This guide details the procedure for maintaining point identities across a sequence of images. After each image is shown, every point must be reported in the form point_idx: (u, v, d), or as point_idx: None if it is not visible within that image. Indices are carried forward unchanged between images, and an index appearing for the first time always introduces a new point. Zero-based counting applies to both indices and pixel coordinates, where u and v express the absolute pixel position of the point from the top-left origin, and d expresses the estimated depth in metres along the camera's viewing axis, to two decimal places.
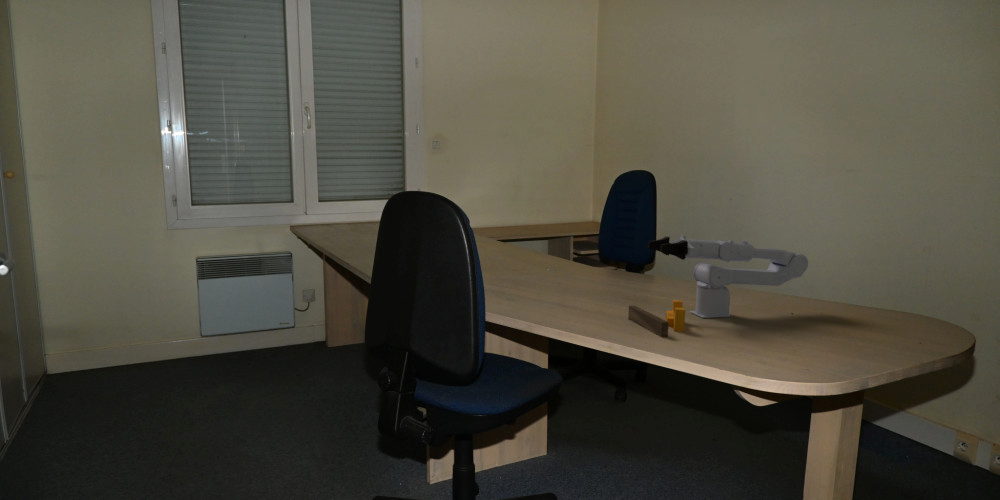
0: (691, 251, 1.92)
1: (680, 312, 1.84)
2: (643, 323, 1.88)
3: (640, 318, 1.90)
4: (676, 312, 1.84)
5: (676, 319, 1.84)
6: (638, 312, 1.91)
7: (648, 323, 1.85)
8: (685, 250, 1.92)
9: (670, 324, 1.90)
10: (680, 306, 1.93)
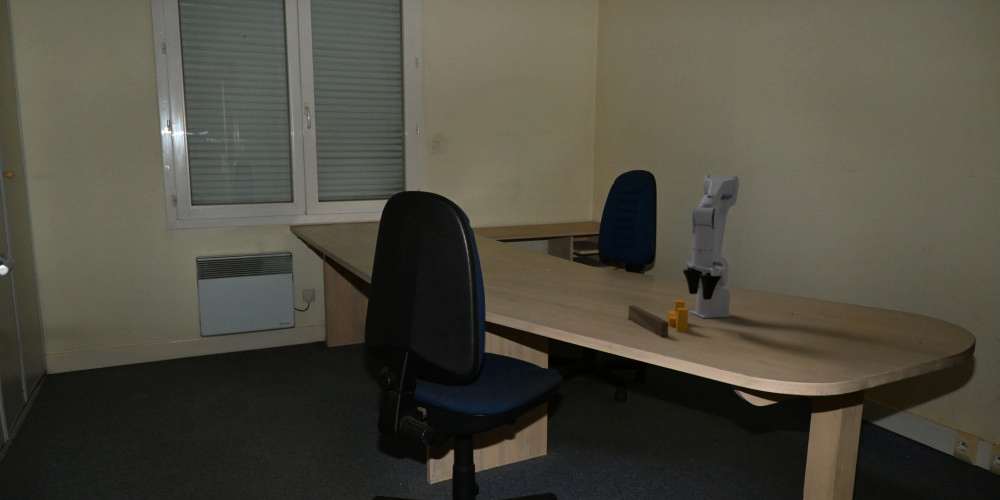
0: (716, 274, 1.83)
1: (683, 312, 1.84)
2: (643, 323, 1.88)
3: (640, 318, 1.90)
4: (679, 312, 1.84)
5: (679, 319, 1.84)
6: (638, 312, 1.91)
7: (648, 323, 1.85)
8: (713, 277, 1.84)
9: (672, 324, 1.90)
10: (682, 306, 1.93)
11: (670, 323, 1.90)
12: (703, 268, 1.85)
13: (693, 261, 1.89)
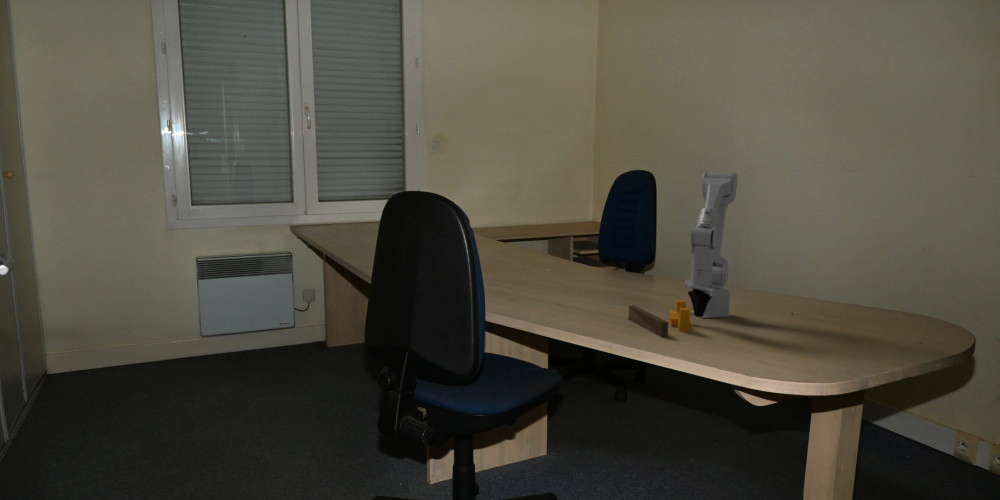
0: (715, 294, 1.84)
1: (685, 312, 1.83)
2: (643, 323, 1.88)
3: (640, 318, 1.90)
4: (681, 312, 1.84)
5: (681, 319, 1.84)
6: (638, 312, 1.91)
7: (648, 323, 1.85)
8: (705, 295, 1.88)
9: (674, 324, 1.90)
10: (683, 306, 1.93)
11: (672, 323, 1.90)
12: (702, 288, 1.86)
13: (692, 281, 1.89)
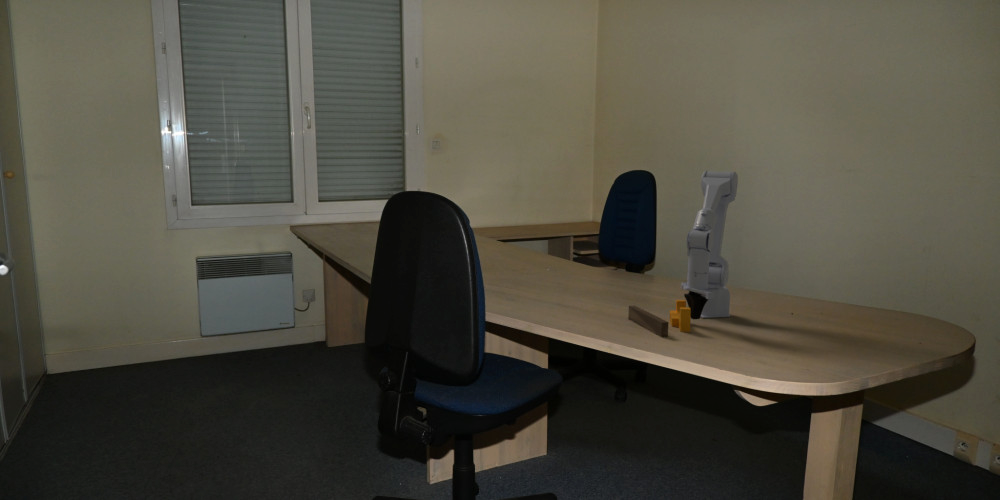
0: (711, 297, 1.83)
1: (686, 312, 1.83)
2: (643, 323, 1.88)
3: (640, 318, 1.90)
4: (681, 312, 1.84)
5: (682, 319, 1.84)
6: (638, 312, 1.91)
7: (648, 323, 1.85)
8: (701, 297, 1.88)
9: (675, 324, 1.90)
10: (683, 305, 1.93)
11: (673, 323, 1.90)
12: (698, 291, 1.86)
13: (688, 284, 1.89)
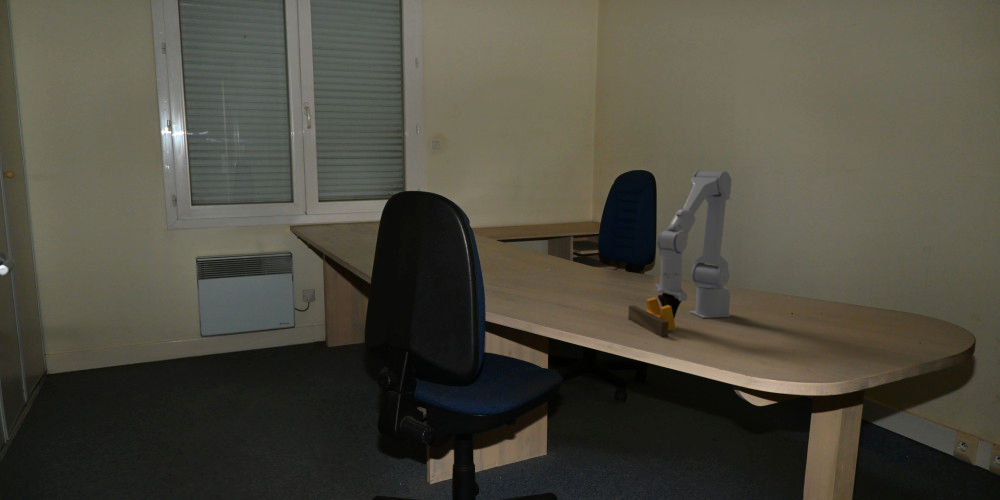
0: (684, 298, 1.82)
1: (668, 310, 1.82)
2: (643, 323, 1.88)
3: (640, 318, 1.90)
4: (664, 311, 1.82)
5: (665, 318, 1.82)
6: (638, 312, 1.91)
7: (648, 323, 1.85)
8: (674, 299, 1.86)
9: None
10: (656, 303, 1.92)
11: None
12: (671, 293, 1.84)
13: (661, 285, 1.87)
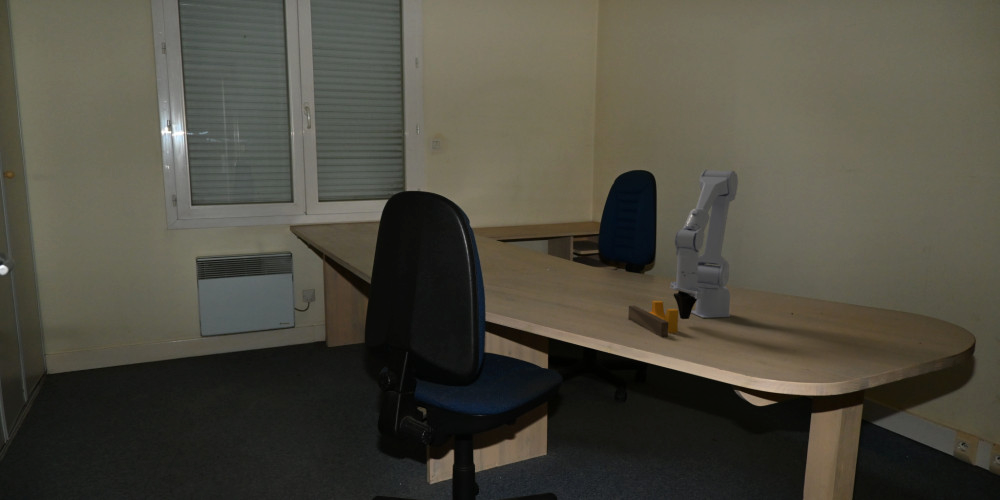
0: (700, 297, 1.83)
1: (674, 313, 1.83)
2: (643, 323, 1.88)
3: (640, 318, 1.90)
4: (670, 313, 1.82)
5: (670, 320, 1.83)
6: (638, 312, 1.91)
7: (648, 323, 1.85)
8: (690, 297, 1.87)
9: None
10: (661, 306, 1.92)
11: None
12: (687, 291, 1.85)
13: (677, 283, 1.89)
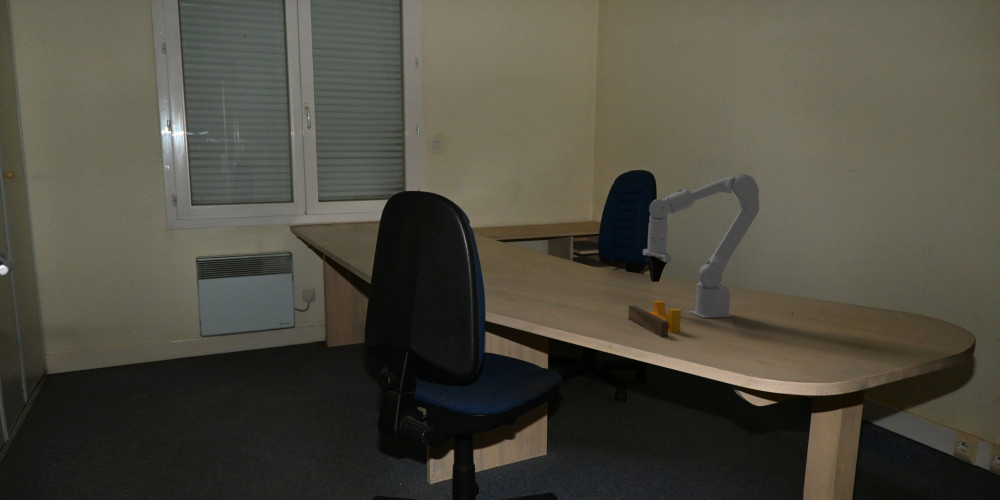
0: (668, 260, 1.99)
1: (676, 313, 1.83)
2: (643, 323, 1.88)
3: (640, 318, 1.90)
4: (672, 313, 1.82)
5: (672, 320, 1.83)
6: (638, 312, 1.91)
7: (648, 323, 1.85)
8: (660, 261, 2.04)
9: None
10: (663, 306, 1.92)
11: None
12: (657, 255, 2.02)
13: (648, 249, 2.05)
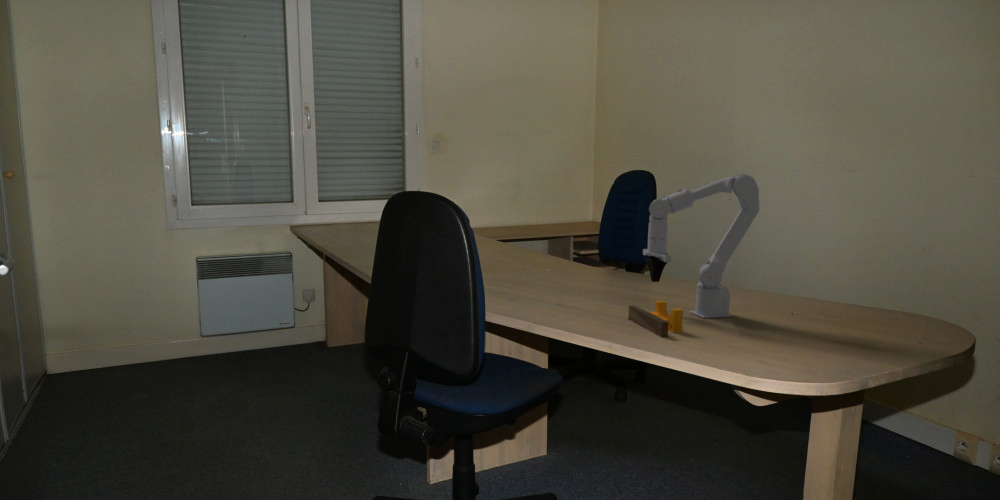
0: (668, 260, 1.99)
1: (679, 313, 1.83)
2: (643, 323, 1.88)
3: (640, 318, 1.90)
4: (675, 313, 1.83)
5: (675, 320, 1.83)
6: (638, 312, 1.91)
7: (648, 323, 1.85)
8: (660, 261, 2.04)
9: None
10: (664, 306, 1.93)
11: None
12: (657, 255, 2.02)
13: (648, 249, 2.05)
